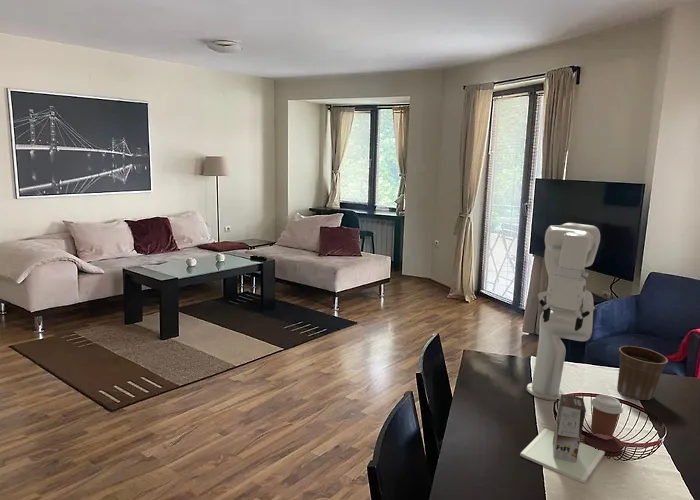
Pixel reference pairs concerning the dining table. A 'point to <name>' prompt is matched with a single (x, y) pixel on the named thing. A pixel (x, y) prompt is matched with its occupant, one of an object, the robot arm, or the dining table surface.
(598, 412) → the coffee cup
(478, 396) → the dining table surface
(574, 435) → the coffee box
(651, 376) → the plant pot
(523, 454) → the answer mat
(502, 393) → the dining table surface
